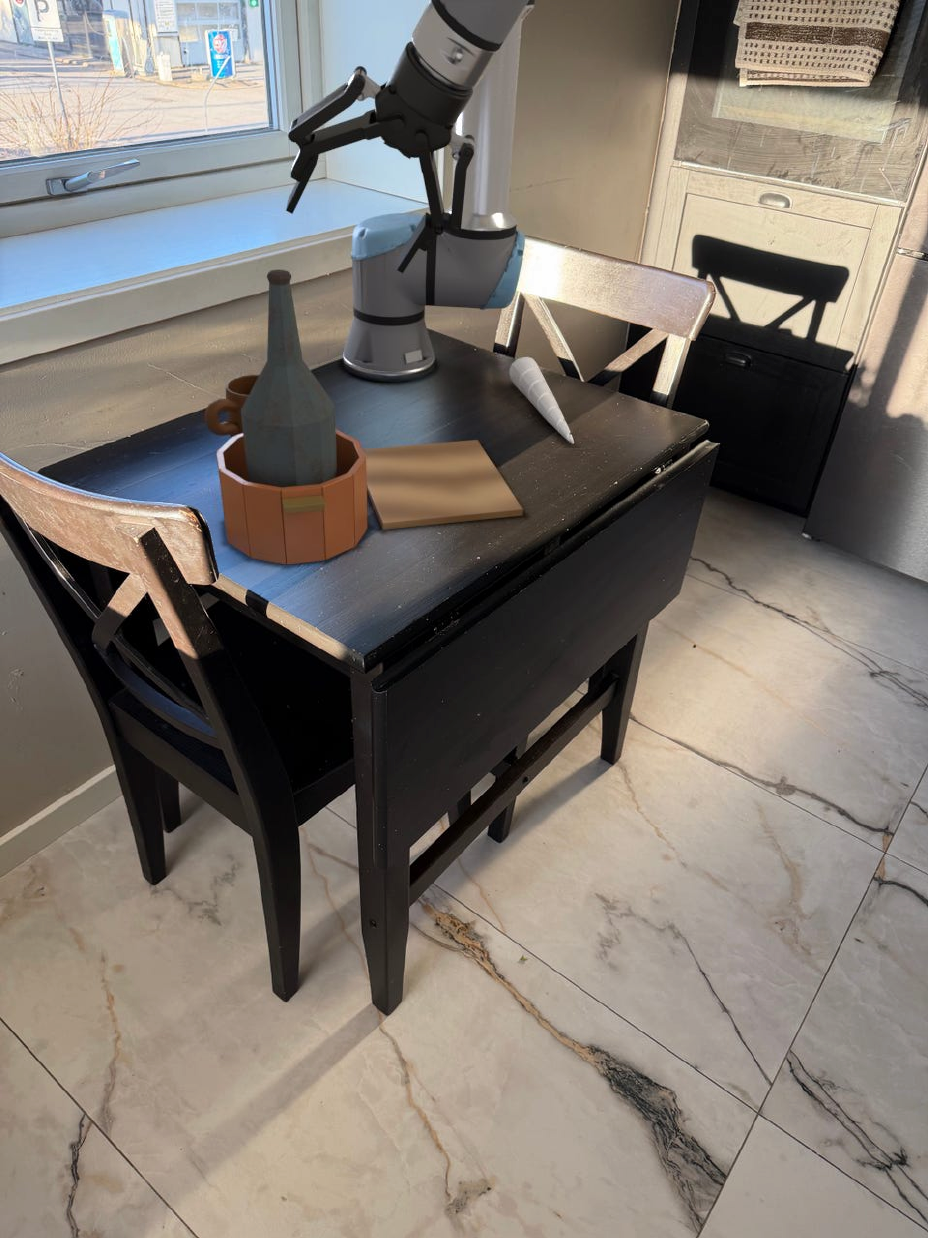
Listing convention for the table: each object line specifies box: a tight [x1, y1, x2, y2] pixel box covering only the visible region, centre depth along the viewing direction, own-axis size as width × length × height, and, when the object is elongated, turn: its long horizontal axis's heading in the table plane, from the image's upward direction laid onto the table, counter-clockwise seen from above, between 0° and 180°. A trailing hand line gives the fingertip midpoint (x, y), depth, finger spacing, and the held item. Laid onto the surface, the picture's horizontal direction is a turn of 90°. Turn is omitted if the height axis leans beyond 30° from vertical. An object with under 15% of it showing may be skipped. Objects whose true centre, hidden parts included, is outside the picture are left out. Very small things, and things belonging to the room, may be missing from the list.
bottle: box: [241, 269, 337, 488], centre depth 101 cm, size 10×10×30 cm
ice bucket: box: [215, 428, 368, 566], centre depth 107 cm, size 21×17×10 cm
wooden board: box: [362, 439, 524, 531], centre depth 120 cm, size 20×18×1 cm
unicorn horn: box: [508, 356, 575, 444], centre depth 139 cm, size 5×24×5 cm, turn 12°
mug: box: [204, 374, 260, 439], centre depth 121 cm, size 12×8×9 cm, turn 142°
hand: (347, 236), depth 102 cm, fingers open, 13 cm apart
